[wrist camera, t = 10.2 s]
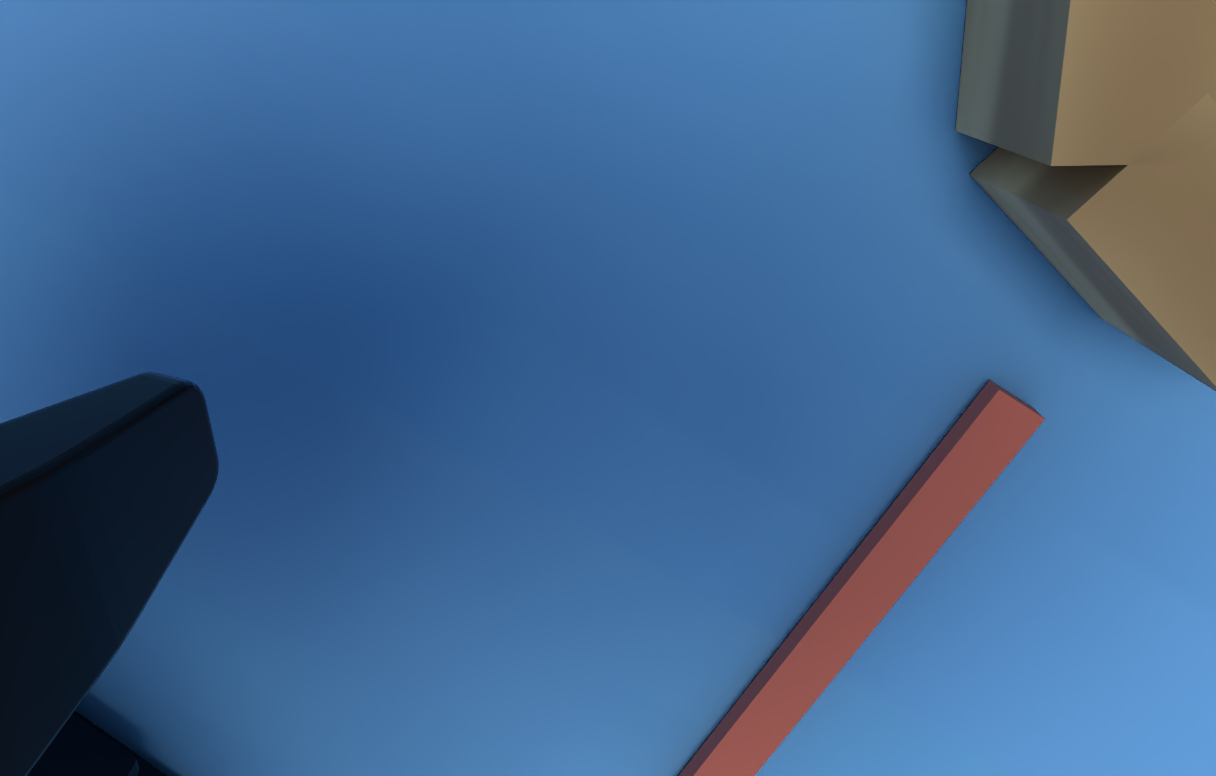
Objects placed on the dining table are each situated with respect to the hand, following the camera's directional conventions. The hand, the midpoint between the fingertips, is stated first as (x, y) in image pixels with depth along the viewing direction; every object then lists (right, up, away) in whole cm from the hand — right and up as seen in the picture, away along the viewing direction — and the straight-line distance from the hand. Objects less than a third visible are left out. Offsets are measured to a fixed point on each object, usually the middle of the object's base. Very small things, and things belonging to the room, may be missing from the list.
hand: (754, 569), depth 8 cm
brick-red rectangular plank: (+3, -4, +13) cm, 14 cm away
